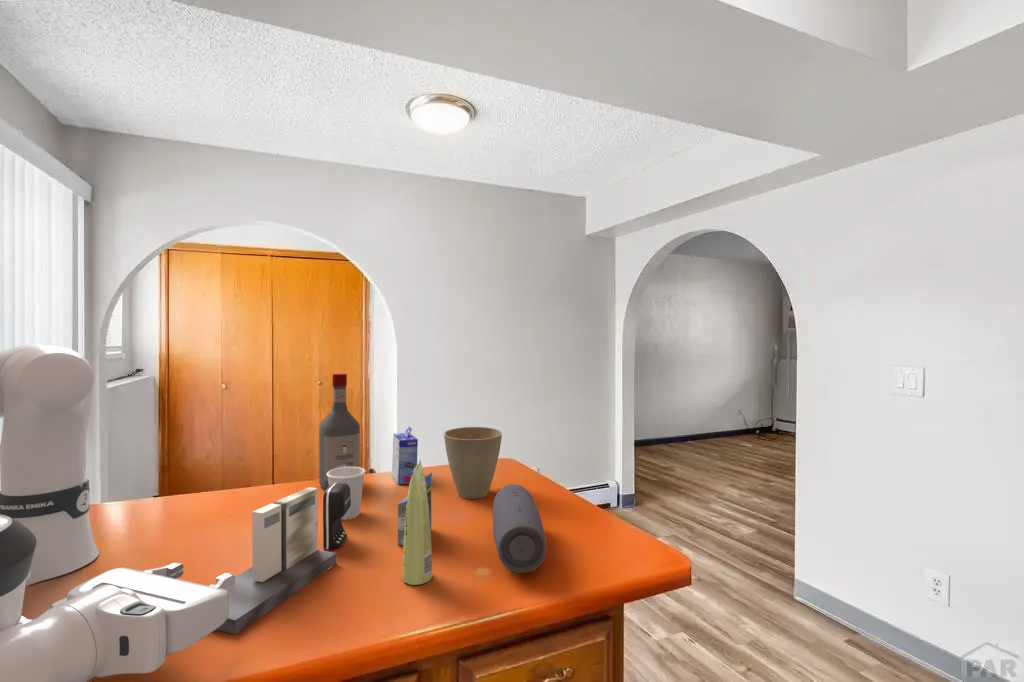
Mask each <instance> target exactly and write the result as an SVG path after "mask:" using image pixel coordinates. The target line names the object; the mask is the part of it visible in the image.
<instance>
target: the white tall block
mask: <svg viewBox="0 0 1024 682" xmlns="http://www.w3.org/2000/svg"><path fill="white" fill-rule="evenodd" d="M251 513H252V514H251V515H252V517H251V518H252V519H251V520H252V521H251V524H252V525H251V527H252V529H251V530H252V532H251V533H252V538H251V539H252V547H251V548H252V553H251V554H252V555H251V556H252V559H251V560H252V561H251V562H252V567H253V580H254V581H259V582H264V581H265V580H267V579H269V578H270V577H272V576H273V575H275V574H277V573H278V572H280V571H281V505H279V504H273V502H271V503H269V504H267V505H264V506H263V507H260V508H257V509H255V510H253V511H252V512H251Z"/></svg>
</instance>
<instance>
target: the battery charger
mask: <svg viewBox="0 0 1024 682" xmlns="http://www.w3.org/2000/svg"><path fill="white" fill-rule="evenodd" d="M322 497H323V498H322V526H323V527H322V529H323V530H322V531H323V533H322V534H323V535H322V537H323V538H322V539H323V542H322V543H323V544H322V545H323V547H322V548H323V549H324V550H326V551H328V550H337V549H340V548H341V547H342V545H344V542H345V541H346V539H347V538H348V533H347V532H346V530H345V529H344V526H343V523H342V522H343V520H342V517H343V516H344V515H345V514H346V512H347V511H348V509H349V508H350V506H351V494H350V487H349V485H348V484H345V483H333V484H331V485H330V486H329V487H328V488H327V489H326V491H325V490H324V493H323V496H322Z"/></svg>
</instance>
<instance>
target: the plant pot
mask: <svg viewBox="0 0 1024 682" xmlns="http://www.w3.org/2000/svg"><path fill="white" fill-rule="evenodd" d="M502 437H503V432H502V430H500V429H497V428H493V427H488V426H487V427H485V426H463V427H455V428H450V429H448V430H445V431H444V432H443V439H444V447H445V452H446V457H447V462H448V466H449V471H450V473H451V477H452V479H453V483H454V485H455V489H456V491H457V493H458V496H460V498H463V499H469V500H471V499H472V500H474V499H481V498H484V497H486V496H487V495H488V493H489V491H490V488H491V484H492V483H493V479H494V476H495V472H496V469H497V465H498V460H499V456H500V450H501V445H502V439H503V438H502Z"/></svg>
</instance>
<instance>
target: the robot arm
mask: <svg viewBox="0 0 1024 682" xmlns="http://www.w3.org/2000/svg"><path fill="white" fill-rule="evenodd" d="M94 385H95V374H94V370H93V367H92V365H91V364H90V362H89V361H88V359H87V358H85V357H84V356H83V354H81V353H79V352H77V351H76V350H74V349H70V348H67V347H63V346H56V345H48V344H38V343H37V344H35V343H34V344H33V343H31V344H25V345H20V346H16V347H12V348H8V349H3V350H0V419H2V418H3V419H2V430H1V431H2V432H1V437H0V438H1V439H0V682H89V681H90V680H92V679H94V678H96V677H97V678H105V677H110V676H115V675H122V674H123V675H124V674H125V675H127V674H149V673H152V672H154V671H156V670H157V669H159V668H161V667H162V666H163V665H164V664H165V662H166V655H168V656H169V655H173V654H176V653H180V652H181V651H184V650H185V649H188V648H190V647H191V646H193V645H194V644H195V643H198V642H199V641H200V640H202V639H203V638H205V637H207V636H208V635H209V634H211V633H212V632H214V631H216V629H217V628H218V627H220V626H221V625H222V624H223V623H224V622H225V621H226V619H227V617H228V614H229V593H228V590H230V589H232V588H233V587H234V586H235V576H236V575H235V574H231V573H226V572H225V573H223V574H222V575H219V576H217V577H216V578H215V584H210V585H207V584H201V583H197V582H191V581H187V580H183V579H179V578H180V577H182V576H183V575H184V564H182V563H178V562H172V563H170V564H168V565H165V566H162V567H161V566H160V567H155V568H151V569H146V570H144V571H142V570H137V569H133V568H127V567H123V566H122V567H117V568H116V567H115V568H111V569H109V570H106V571H104V572H102V573H100V574H98V575H95V576H94V577H91V578H90V579H88V580H86V581H84V582H82V583H79V584H78V585H76V586H75V587H73V588H72V589H70V590H69V591H68V592H67V594H66V597H64V598H62V599H59V600H57V601H55V602H53V603H52V604H51V606H50V607H49V608H48V610H46V611H45V612H43V613H42V614H41V615H39V616H38V617H36V618H34V619H29V618H27V617H25V616H24V615H23V614H22V612H23V606H24V597H25V591H26V587H28V586H30V585H32V584H36V583H39V582H42V581H46V580H50V579H54V578H57V577H60V576H63V575H67V574H68V573H71V572H74V571H76V570H78V569H79V570H80V568H83V567H85V566H86V565H88V564H90V563H92V562H93V561H95V560H96V558H97V557H99V554H100V552H99V549H98V547H97V545H96V542H95V539H94V537H93V531H92V527H91V523H90V516H89V510H90V503H91V502H90V501H91V499H90V498H91V497H90V493H91V491H90V480H89V478H87V459H86V458H87V456H86V455H87V450H86V448H87V447H86V446H87V445H86V443H87V431H88V430H87V429H88V423H89V420H90V412H91V404H92V395H93V388H94Z"/></svg>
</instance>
